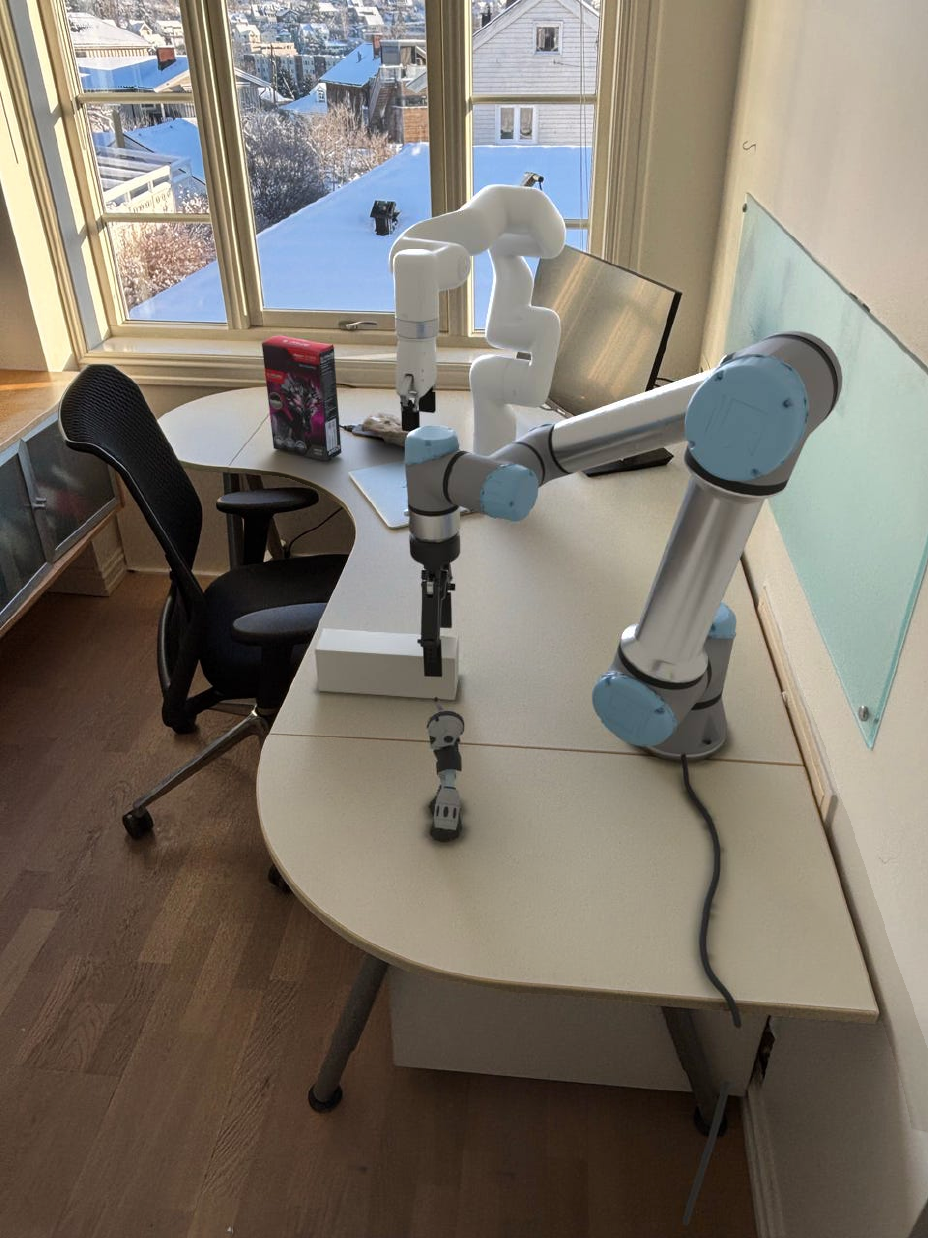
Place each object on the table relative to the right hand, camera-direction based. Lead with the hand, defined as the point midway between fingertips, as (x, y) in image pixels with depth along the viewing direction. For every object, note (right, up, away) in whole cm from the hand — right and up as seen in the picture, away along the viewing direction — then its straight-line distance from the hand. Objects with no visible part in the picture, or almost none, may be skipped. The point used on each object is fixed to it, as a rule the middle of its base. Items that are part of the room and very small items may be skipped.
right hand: (438, 650), depth 147 cm
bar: (-8, -6, +5) cm, 11 cm away
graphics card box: (-35, +47, +83) cm, 101 cm away
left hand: (-4, +41, +21) cm, 46 cm away
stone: (-13, +50, +88) cm, 102 cm away
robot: (+2, -23, -20) cm, 30 cm away
